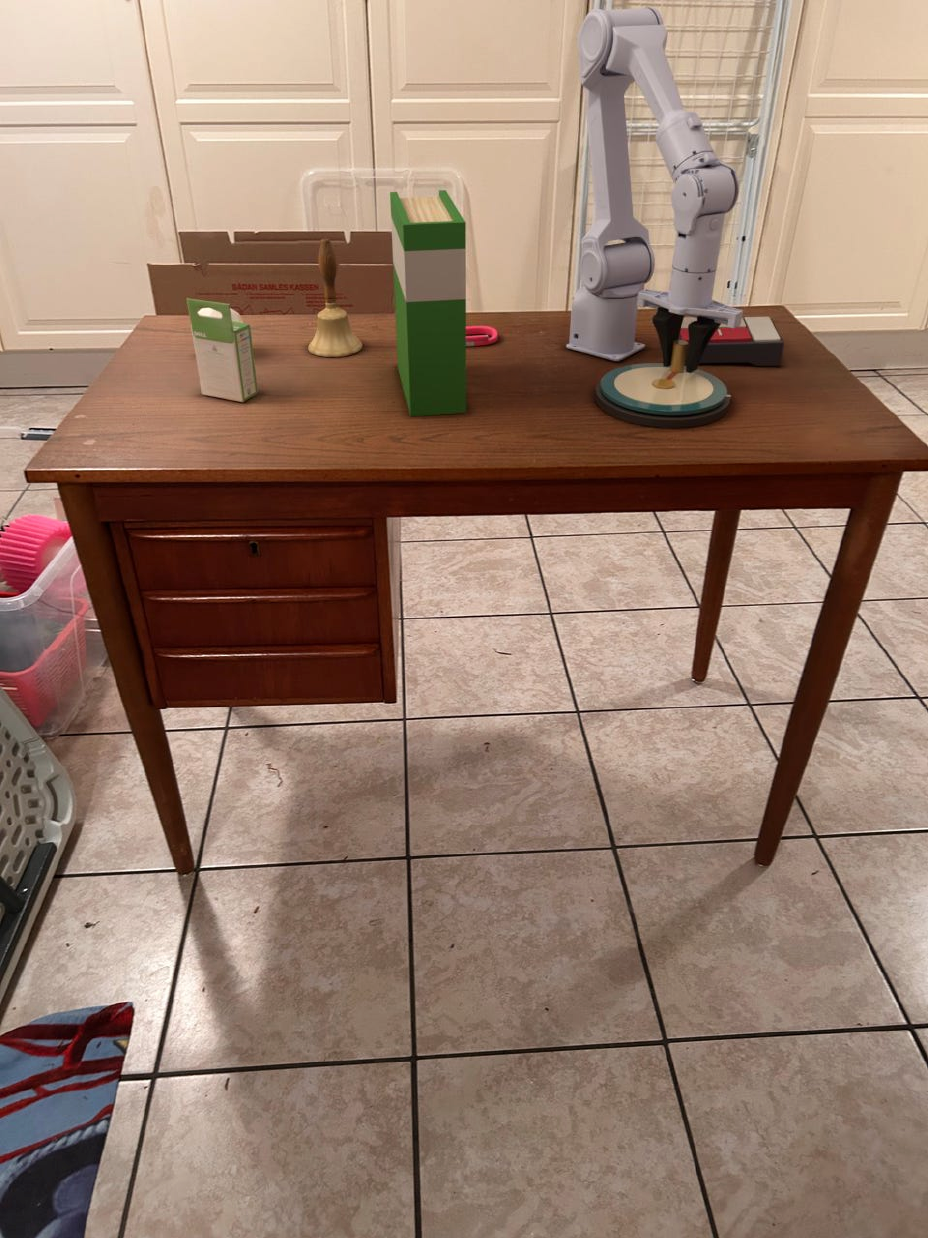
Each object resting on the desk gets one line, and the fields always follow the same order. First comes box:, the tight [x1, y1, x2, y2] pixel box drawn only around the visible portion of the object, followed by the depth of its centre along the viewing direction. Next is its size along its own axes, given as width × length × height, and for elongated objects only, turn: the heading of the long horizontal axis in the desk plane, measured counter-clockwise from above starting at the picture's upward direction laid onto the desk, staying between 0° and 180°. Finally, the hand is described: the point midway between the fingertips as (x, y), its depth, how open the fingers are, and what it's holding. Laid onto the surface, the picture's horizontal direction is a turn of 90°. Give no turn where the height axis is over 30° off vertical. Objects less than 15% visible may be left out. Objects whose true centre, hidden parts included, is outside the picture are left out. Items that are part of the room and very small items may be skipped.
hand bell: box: [307, 238, 364, 358], centre depth 142 cm, size 8×8×16 cm
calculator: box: [678, 316, 785, 367], centre depth 144 cm, size 11×4×15 cm
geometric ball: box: [198, 307, 244, 323], centre depth 142 cm, size 8×8×8 cm
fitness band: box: [466, 325, 499, 348], centre depth 149 cm, size 8×6×2 cm
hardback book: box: [389, 189, 467, 417], centre depth 127 cm, size 18×7×24 cm, turn 9°
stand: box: [594, 380, 732, 429], centre depth 130 cm, size 18×18×1 cm
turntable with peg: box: [600, 340, 728, 415], centre depth 128 cm, size 17×17×5 cm
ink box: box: [186, 297, 259, 403], centre depth 128 cm, size 7×4×13 cm, turn 65°
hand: (680, 367), depth 133 cm, fingers open, 3 cm apart
